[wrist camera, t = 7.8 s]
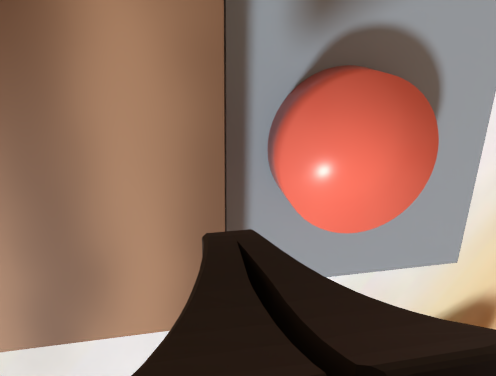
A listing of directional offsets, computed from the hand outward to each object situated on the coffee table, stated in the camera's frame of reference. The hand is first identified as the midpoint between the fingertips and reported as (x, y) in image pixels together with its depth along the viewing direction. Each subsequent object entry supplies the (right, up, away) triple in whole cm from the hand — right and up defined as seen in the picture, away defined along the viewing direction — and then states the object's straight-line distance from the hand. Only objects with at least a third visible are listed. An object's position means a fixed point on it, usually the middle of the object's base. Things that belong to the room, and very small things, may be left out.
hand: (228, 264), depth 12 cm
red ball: (+5, +4, +9) cm, 11 cm away
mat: (+6, +5, +9) cm, 12 cm away
